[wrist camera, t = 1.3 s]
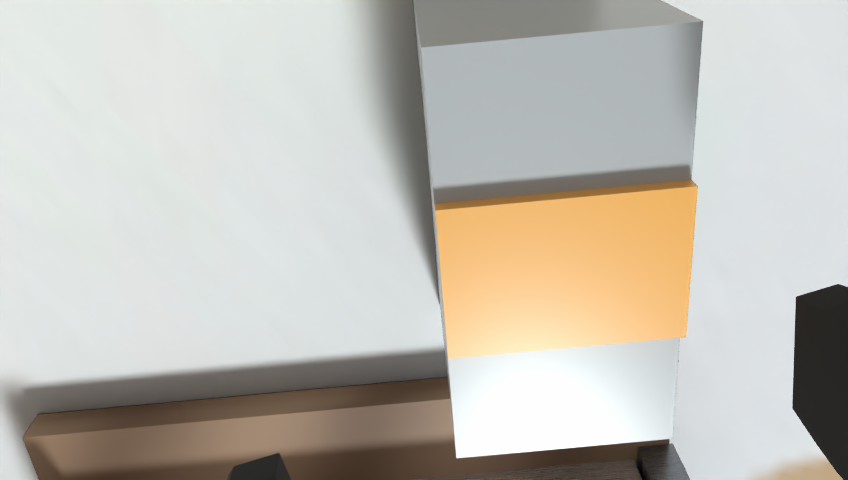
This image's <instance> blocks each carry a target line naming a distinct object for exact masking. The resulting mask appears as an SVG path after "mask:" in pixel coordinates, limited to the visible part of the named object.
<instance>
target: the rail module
mask: <svg viewBox="0 0 848 480" xmlns="http://www.w3.org/2000/svg"><path fill="white" fill-rule="evenodd" d="M413 3H414V15H415V26H416V37H417V49H418V60H419V68H420V76H421V84H422V95H423V107H424V118H425V129H426V141H427V152H428V164H429V175H430V187H431V198H432V209H433V221H434V232H435V244H436V264H437V276H438V287H439V298H440V309H441V318H442V328H443V337H444V347H445V356H446V365H447V375H448V384H449V393H450V403H451V412H452V422H453V431H454V440H455V450H456V458H465V457H476V456H487V455H498V454H509V453H520V452H531V451H542V450H553V449H564V448H575V447H586V446H597V445H608V444H619V443H630V442H641V441H652V440H663V439H672V438H673V424H674V411H675V397H676V383H677V370H678V356H679V342H680V338H682V337H686V331H687V318H688V305H689V292H690V279H691V266H692V253H693V240H694V227H695V214H696V202H697V189H698V186H697V185H696V184H695V183H694V182H693V181H692V180H691V178H692V165H693V151H694V137H695V124H696V110H697V96H698V83H699V69H700V55H701V42H702V28H703V21H701V20H699V19H697V18H695V17H693V16H691V15H689V14H687V13H685V12H683V11H681V10H679V9H677V8H675V7H673V6H671V5H669V4H667V3H665V2H663V1H661V0H413Z"/></svg>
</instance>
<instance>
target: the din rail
mask: <svg viewBox="0 0 848 480" xmlns="http://www.w3.org/2000/svg"><path fill="white" fill-rule="evenodd" d="M407 480H690V478H689V476H688V474H687V472H686V470H685V468H684V466H683V464H682V462H681V460H680V458H679V456H678V454H677V452H676V449H675V447H674V445H673V444H662V445H650V446H639V447H638V455H637V465H636V463H635V460H634V459H628V460H617V461H606V462H595V463H584V464H573V465H562V466H551V467H540V468H529V469H518V470H507V471H496V472H485V473H474V474H463V475H452V476H440V477H429V478H418V479H407Z"/></svg>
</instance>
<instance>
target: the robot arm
mask: <svg viewBox="0 0 848 480" xmlns="http://www.w3.org/2000/svg"><path fill="white" fill-rule="evenodd" d="M793 410H794V411H795V413H796V414H797V416H798V417H799V419H800V420H801V422H802V423H803V425H804V426H805V428H806V429H807V431H808V432H809V433H810V435H811V436H812V438H813V439H814V441H815V442H816V444H817V445H818V447H819V448H820V449H821V451H822V452H823V454H824V455H825V456H826V458H827V459H828V460H829V462H830V463H831V465H832V466H833V467H834V469H835V470H836V472H837V473H838V474H839V475H840V476H841V477H842V478H843V480H848V287H845V286H842V285H839V284H837V285H834V286H830V287H827V288H824V289H820V290H817V291H814V292H810V293H807V294H804V295H800V296H797V297H796V315H795V347H794V378H793ZM227 480H291V478H290V476H289V474H288V471H287V469H286V467H285V464H284V462H283V460H282V458H281V455H280V453H276V454H273V455H269V456H266V457H263V458H259V459H256V460H253V461H250V462H246V463H243V464H240V465H236V466H234V467H233V469H232V470H231V472H230V473H229V475H228V478H227Z"/></svg>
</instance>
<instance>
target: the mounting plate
mask: <svg viewBox="0 0 848 480" xmlns="http://www.w3.org/2000/svg"><path fill="white" fill-rule="evenodd" d="M23 441H24V443H25V446H26V448H27V451H28V453H29V456H30V458H31V461H32V463H33V466H34V468H35V471H36V473H37V475H38V478H39V480H227V478H228V475H229V473H230V472H231V470H232V469H233V467H234V466H236V465H240V464H243V463H246V462H250V461H253V460H256V459H259V458H263V457H266V456H269V455H273V454H276V453H280V455H281V458H282V460H283V462H284V464H285V467H286V469H287V471H288V474H289V476H290V478H291V480H407V479H418V478H429V477H440V476H452V475H463V474H474V473H485V472H496V471H507V470H518V469H529V468H540V467H551V466H562V465H573V464H584V463H595V462H606V461H617V460H628V459H634V460H635V463H636V465H637V455H638V447H639V446H650V445H662V444H669V439H663V440H652V441H641V442H630V443H619V444H608V445H597V446H586V447H575V448H564V449H553V450H542V451H531V452H520V453H509V454H498V455H487V456H476V457H465V458H456V450H455V440H454V431H453V422H452V412H451V403H450V393H449V384H448V377H444V378H433V379H422V380H411V381H400V382H389V383H378V384H367V385H356V386H345V387H334V388H324V389H313V390H302V391H291V392H280V393H269V394H258V395H247V396H236V397H225V398H214V399H203V400H192V401H181V402H170V403H159V404H148V405H137V406H126V407H115V408H104V409H93V410H82V411H71V412H60V413H49V414H38V415H37V416H36V418H35V419H34V421H33V422H32V424H31V425H30V427H29V428H28V430H27V432H26V433H25V435H24V436H23Z"/></svg>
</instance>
